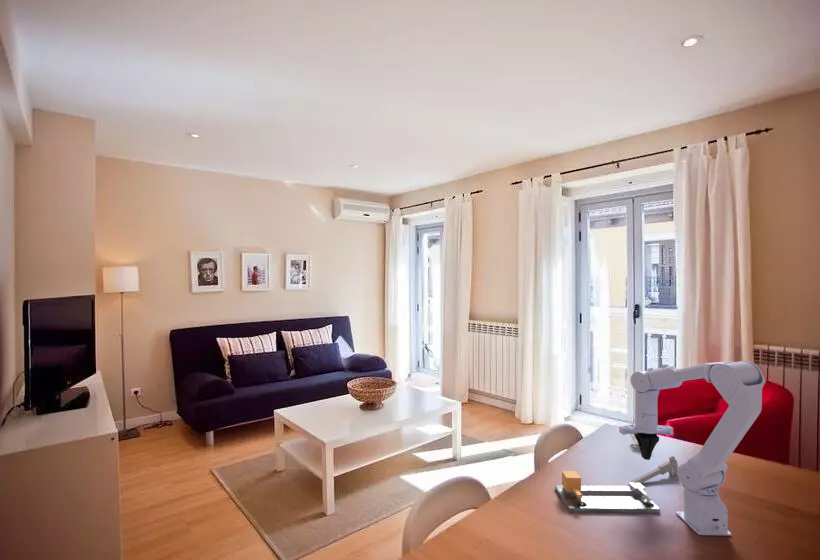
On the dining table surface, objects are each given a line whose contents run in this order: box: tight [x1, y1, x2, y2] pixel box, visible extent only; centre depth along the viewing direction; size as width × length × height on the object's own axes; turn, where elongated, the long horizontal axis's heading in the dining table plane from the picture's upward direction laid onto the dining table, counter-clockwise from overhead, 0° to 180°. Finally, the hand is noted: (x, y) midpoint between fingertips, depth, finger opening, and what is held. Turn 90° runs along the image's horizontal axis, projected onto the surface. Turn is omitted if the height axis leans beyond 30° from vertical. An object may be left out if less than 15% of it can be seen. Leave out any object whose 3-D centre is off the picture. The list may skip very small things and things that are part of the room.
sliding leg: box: [561, 470, 582, 504], centre depth 118 cm, size 8×4×5 cm, turn 178°
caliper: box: [626, 455, 679, 486], centre depth 129 cm, size 20×1×6 cm, turn 111°
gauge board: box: [554, 482, 661, 514], centre depth 118 cm, size 12×24×3 cm, turn 88°
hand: (645, 458), depth 123 cm, fingers closed
